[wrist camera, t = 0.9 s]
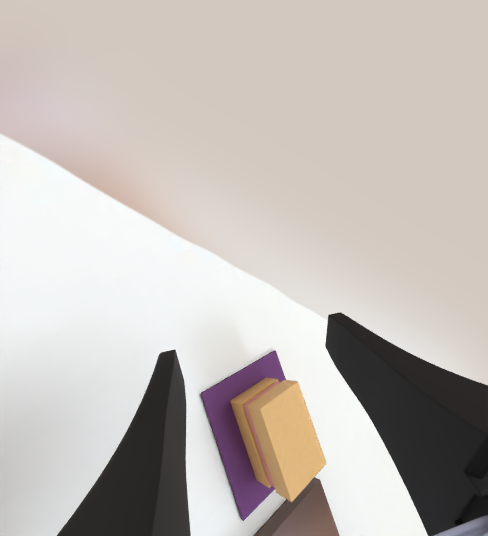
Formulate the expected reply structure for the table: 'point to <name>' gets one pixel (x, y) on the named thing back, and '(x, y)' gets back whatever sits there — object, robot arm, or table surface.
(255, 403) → the sandwich
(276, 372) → the felt cloth
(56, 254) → the table surface
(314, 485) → the cutting board
